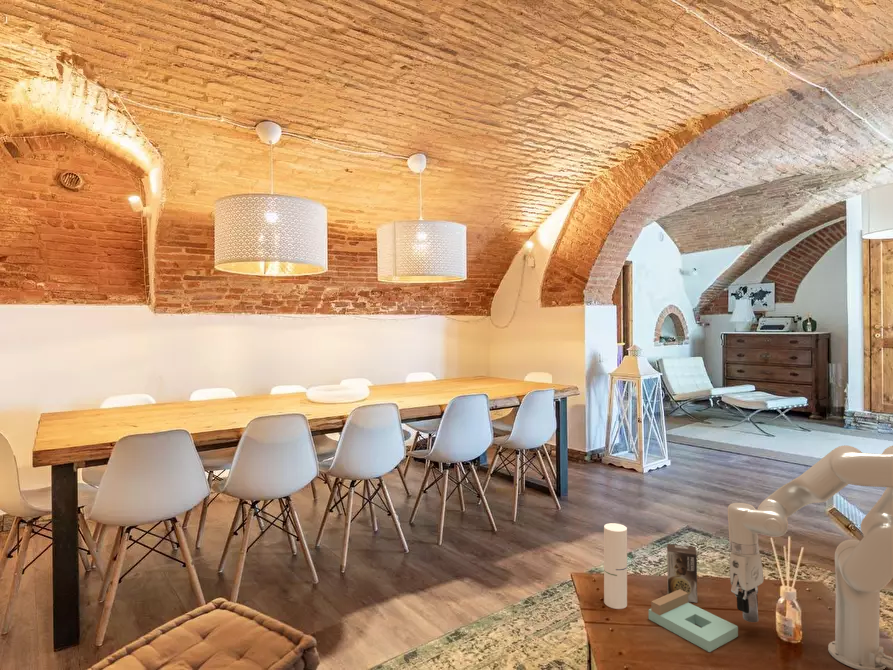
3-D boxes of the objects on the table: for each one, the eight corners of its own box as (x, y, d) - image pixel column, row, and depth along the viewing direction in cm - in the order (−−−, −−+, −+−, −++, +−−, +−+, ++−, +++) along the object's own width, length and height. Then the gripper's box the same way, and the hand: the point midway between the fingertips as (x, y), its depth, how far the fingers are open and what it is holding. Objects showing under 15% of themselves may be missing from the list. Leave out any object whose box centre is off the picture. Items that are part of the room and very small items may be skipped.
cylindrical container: (630, 609, 173) (629, 531, 173) (607, 608, 174) (607, 531, 173) (623, 597, 181) (623, 523, 180) (601, 597, 181) (601, 523, 180)
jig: (737, 636, 158) (738, 616, 158) (709, 652, 150) (709, 631, 150) (676, 606, 175) (676, 587, 175) (648, 619, 167) (648, 599, 167)
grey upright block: (761, 619, 159) (758, 591, 159) (754, 623, 157) (751, 595, 157) (747, 614, 162) (745, 587, 162) (740, 618, 160) (737, 591, 160)
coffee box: (696, 594, 182) (696, 546, 182) (697, 603, 176) (697, 554, 176) (667, 589, 186) (667, 542, 185) (667, 598, 180) (667, 550, 179)
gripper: (740, 558, 152) (744, 623, 152) (772, 543, 161) (775, 604, 161) (715, 550, 159) (719, 612, 159) (746, 536, 168) (750, 595, 168)
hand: (747, 608), depth 160 cm, fingers closed on grey upright block, 4 cm apart
